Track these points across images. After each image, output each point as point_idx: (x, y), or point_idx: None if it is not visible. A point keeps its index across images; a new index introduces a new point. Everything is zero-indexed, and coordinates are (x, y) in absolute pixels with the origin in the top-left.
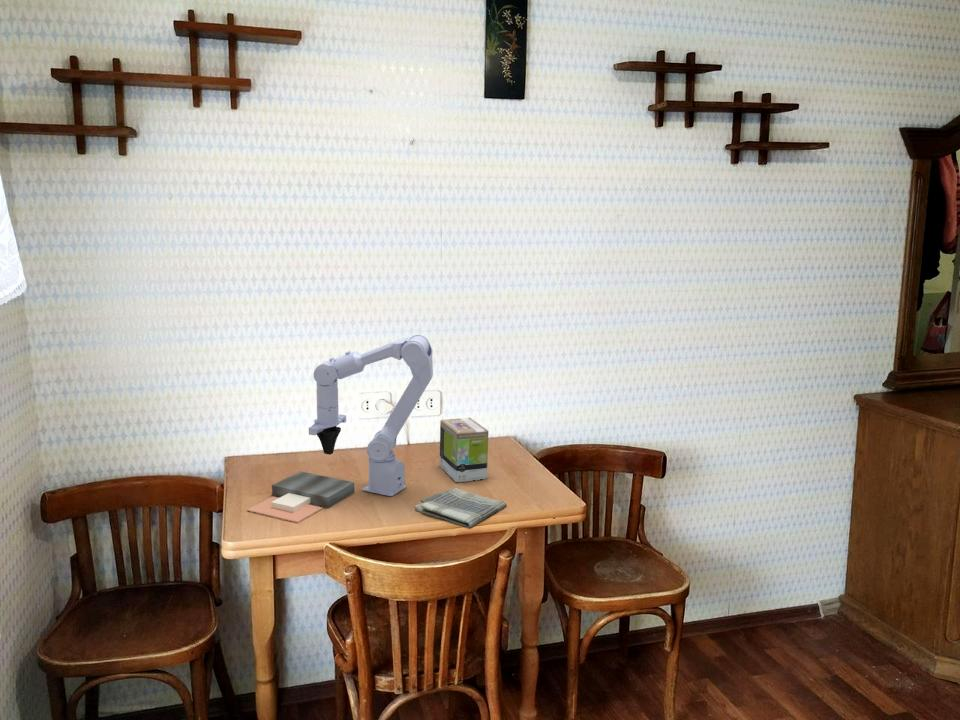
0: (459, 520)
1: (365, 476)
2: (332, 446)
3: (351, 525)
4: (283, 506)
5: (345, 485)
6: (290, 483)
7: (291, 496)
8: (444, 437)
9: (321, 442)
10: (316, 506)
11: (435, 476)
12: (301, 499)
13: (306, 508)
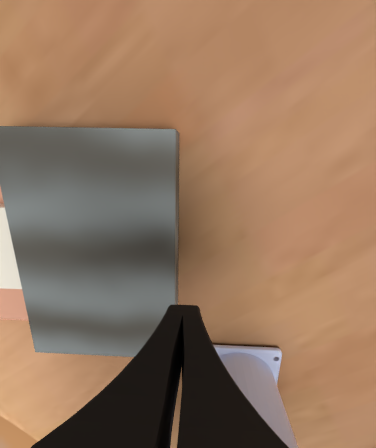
0: None
1: (310, 299)
2: (176, 396)
3: (19, 406)
4: None
5: (138, 349)
6: (46, 183)
7: (1, 234)
8: None
9: (136, 360)
10: None
11: (370, 440)
12: (5, 274)
13: (10, 290)
